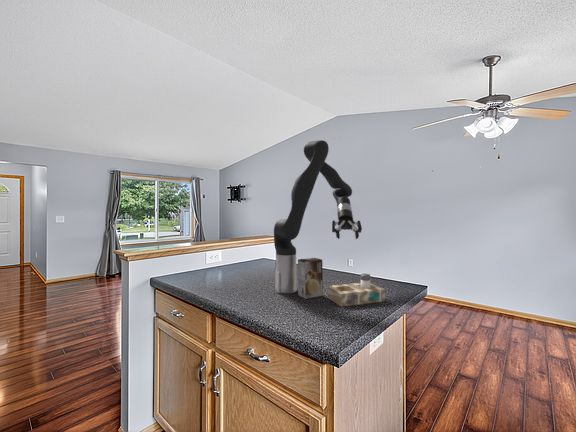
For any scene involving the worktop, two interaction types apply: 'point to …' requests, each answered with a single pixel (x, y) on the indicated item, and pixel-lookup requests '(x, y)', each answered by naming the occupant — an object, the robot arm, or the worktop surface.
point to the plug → (365, 281)
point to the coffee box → (310, 277)
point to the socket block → (355, 294)
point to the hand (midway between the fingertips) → (347, 238)
